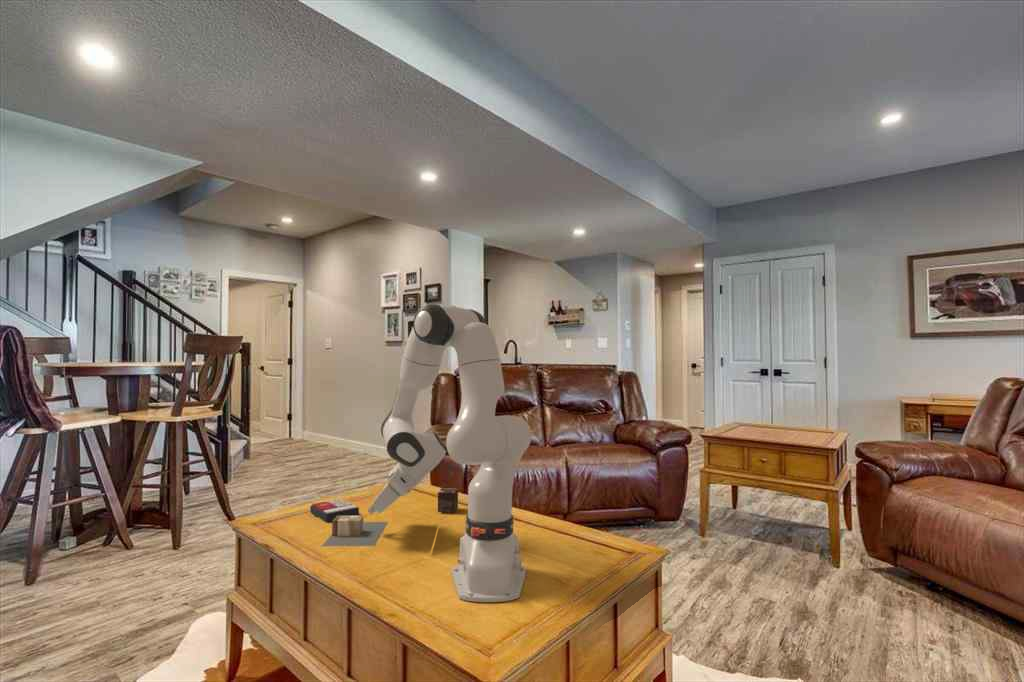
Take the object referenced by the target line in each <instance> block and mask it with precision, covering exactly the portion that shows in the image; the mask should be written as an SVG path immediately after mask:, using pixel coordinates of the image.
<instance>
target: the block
mask: <svg viewBox="0 0 1024 682" xmlns="http://www.w3.org/2000/svg"><path fill="white" fill-rule="evenodd" d="M363 522H364V515H359V516H336V517H335V518H334V519H333V521H332V522H331V523H332V527H331V528H332V529H331V534H332V536H360V534H361V533H362V531H363Z"/></svg>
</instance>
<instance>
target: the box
mask: <svg viewBox="0 0 1024 682" xmlns="http://www.w3.org/2000/svg"><path fill="white" fill-rule="evenodd" d="M458 509H459V488H458V487H441V488H440V489H439V491H438V492H437V513H441V514H453V513H455V514H456V512H457V510H458Z"/></svg>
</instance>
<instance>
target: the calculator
mask: <svg viewBox="0 0 1024 682" xmlns="http://www.w3.org/2000/svg"><path fill="white" fill-rule="evenodd" d="M309 509H310V512H311V513H312V514H313V515H314V517H315V518H316V517H317V519H318V518H319V519H320V520H322V521H323V522H324V523H326V524H327V523H332V521H333V519H334V518H335V517H336V516H360V507H359V506H356V505H354V504H353V503H351V502H348V501H346V499H345V500H344V499H342V498H338V499H332V500H331V499H330V500H327V501H321V502H316V503H312V504H311V505H310V508H309ZM311 513H310V514H311ZM312 514H311V515H312ZM313 515H312V516H313Z"/></svg>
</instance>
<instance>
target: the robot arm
mask: <svg viewBox="0 0 1024 682" xmlns="http://www.w3.org/2000/svg"><path fill="white" fill-rule="evenodd" d="M412 325H413V327H412V329H411V331H410V333H409V336H408V338H407V340H406V343H405V346H404V350H403V354H402V359H401V362H400V363H401V364H400V368H399V369H400V371H399V382H398V388H397V390H396V394H395V398H394V402H393V404H392V408H391V410H390V412H389V413H388V415H387V416H386V418H385V419H384V420H383V422H382V423H381V428H380V433H381V436H382V439H383V441H384V445H385V448H386V449H385V450H386V452H387V454H388V456H389V457H390V458H392V460H394V461H396V462H397V463H396V465H394V466H393V467H392V469H391V470H390V471H389V472H388V475H389V476H388V479H387V481H386V484H385V486H384V487H383V489H382V490H380V492H379V494H378V495H377V496H376V497H375V499H374V500H373V501H372V503H371V504H370V507H369V508H368V509H367V512H368V513H369V514H370V515H373V514H374V513H375V512H377V514H380V513H382V512H384V511H386V509H388V507H390V506H391V505H392V504H394V502H396V501H398V499H399V498H400V497H404V496H405V495H406V494H410V493H411V492H412V491H413V490H414V489H416V487H417V486H418V485H419V484H420V483H421V482H422V481H423V479H424V477H425V476H426V475H427V474H429V473H431V472H432V471H433V470H434V469H435V468H436V467H437V466H438V465H439V464H440V462H442V460H443V458H445V455H446V454H448V455H449V457H450V459H451V460H452V461H454V462H455V463H456V464H459V465H465V466H477V465H480V467H479V469H478V471H477V473H476V474H475V475H474V476H473V478H472V479H471V481H470V482H469V485H468V488H467V489H468V491H467V492H468V493H467V514H466V516H465V518H466V519H465V533H464V534H463V535H462V536H461V537H460V539H459V558H458V560H457V562H458V565H456V566H453V567H451V572H450V573H451V576H452V580H453V583H454V587H455V589H456V593H457V594H456V595H457V597H458V599H460V600H463V601H467V602H475V603H500V602H508V601H513V600H516V599H519V598H520V597H521V595H522V590H523V586H524V583H525V578H526V575H527V567H526V566H525V565H522V558H521V557H519V554H520V553H521V547H519V537H518V536H517V535H515V533H514V521H515V520H514V515H513V513H512V510H513V509H512V508H513V507H512V505H513V503H512V502H513V487H514V480H515V477H516V473H517V469H518V466H519V465H520V461H521V459H522V457H523V455H524V454H525V452H526V451H527V449H528V448H529V447H530V445H531V442H532V430H531V426H530V425H529V423H528V421H526V420H525V419H524V418H522V417H521V416H515V415H508V414H506V415H498V416H496V407H497V403H498V401H499V399H500V398H501V397H502V396H503V395H504V392H505V382H504V376H503V370H502V363H501V356H500V352H499V348H498V343H497V341H496V337H495V334H494V332H493V329H492V328H491V326H490V325H488V324H487V321H486V319H485V317H484V315H483V314H482V313H480V312H479V311H477V310H473V309H470V308H464V307H460V306H457V305H456V306H455V305H448V304H446V305H444V304H443V305H442V304H440V305H439V304H433V303H432V304H427V305H423V306H422V307H420V308H419V309H418V310H417V311H416V313H415V314H414V317H413V324H412ZM448 347H450V348H451V347H452V348H454V351H455V352H456V358H457V366H458V373H459V382H460V392H461V398H460V399H461V400H460V401H461V402H460V408H459V412H458V415H457V418H456V421H455V422H454V424H453V425H452V427H451V428H450V429H449V430H448V432H447V434H446V435H447V436H446V442H445V443H444V442H443V440H442V438H441V437H440V436H439V435H438V434H437V433H435V432H433V431H432V432H425V431H419V430H416V429H415V427H414V426H415V425H414V422H413V412H414V409H415V406H416V401H417V399H418V395H419V394H420V391H421V390H425V389H428V388H430V387H432V386H433V385H434V383H435V382H436V380H437V377H438V375H439V372H440V369H441V364H442V360H443V355H444V352H445V350H446V348H448ZM445 444H446V445H445Z"/></svg>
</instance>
